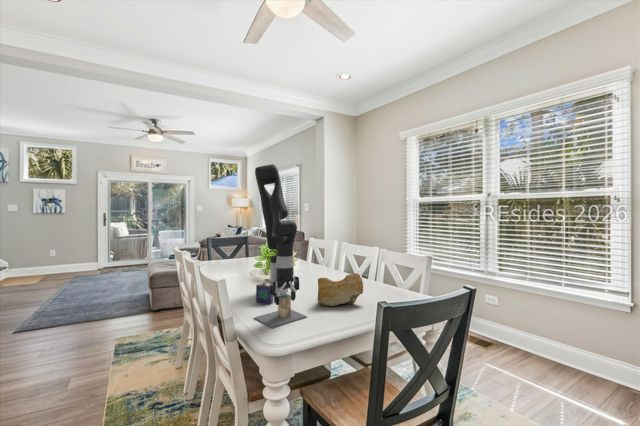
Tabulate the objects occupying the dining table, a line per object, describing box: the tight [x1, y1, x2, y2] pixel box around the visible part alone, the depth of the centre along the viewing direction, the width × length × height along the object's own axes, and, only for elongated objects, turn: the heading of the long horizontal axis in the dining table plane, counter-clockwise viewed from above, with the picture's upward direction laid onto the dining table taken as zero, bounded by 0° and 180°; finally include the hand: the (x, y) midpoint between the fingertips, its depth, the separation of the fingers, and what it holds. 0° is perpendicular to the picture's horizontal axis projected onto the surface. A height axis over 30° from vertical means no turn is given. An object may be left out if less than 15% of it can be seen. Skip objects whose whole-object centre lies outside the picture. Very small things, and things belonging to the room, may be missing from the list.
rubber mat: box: [253, 309, 308, 329], centre depth 134 cm, size 18×14×1 cm
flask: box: [255, 281, 274, 305], centre depth 155 cm, size 9×3×11 cm, turn 74°
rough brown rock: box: [317, 273, 364, 307], centre depth 157 cm, size 23×17×15 cm
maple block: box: [277, 293, 292, 318], centre depth 135 cm, size 4×4×9 cm
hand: (285, 302), depth 135 cm, fingers open, 8 cm apart
